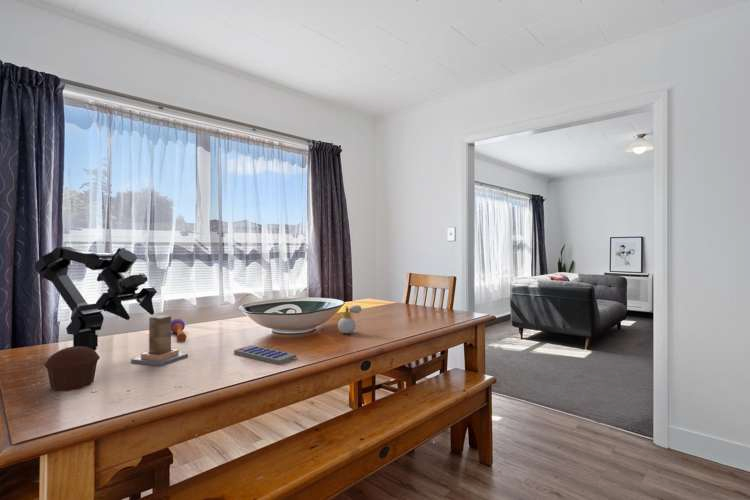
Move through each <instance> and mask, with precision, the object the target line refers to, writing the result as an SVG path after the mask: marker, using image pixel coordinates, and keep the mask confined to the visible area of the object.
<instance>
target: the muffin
mask: <svg viewBox="0 0 750 500" xmlns="http://www.w3.org/2000/svg"><path fill="white" fill-rule="evenodd" d="M100 358H101V356H100V355H99V354H98V352H96V350H93V349H91V348H88V347H84V346H74V347H73V346H69V347H66V348H62V349H60V350H58V351H56V352H55V353H53V354H52V355H50V357H48V358H47V359H46V362H45V363H44V367H45V368H46V369H47V370H46V371H47V374H48V376H47V377H48V382H49V385H50V390H52V391H54V392H70V391H74V390H75V391H77V390H81V389H83V388H85V387H89V386H91V385H92V384H93V382H94V380H95V376H96V375H95V374H96V370H97V365H98V361H99V360H100Z"/></svg>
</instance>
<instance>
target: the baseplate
mask: <svg viewBox="0 0 750 500" xmlns="http://www.w3.org/2000/svg"><path fill="white" fill-rule="evenodd" d="M188 355H189V353H186V352H179V349H175V348H171V352H168V353H165V354H162V355H155V354H149V350H148V351H145V352H143V353H141V354H140V355H139V356H136V357H134V358H131V359H130V362H131V363H135V364H141V365H149V366H156V367H163V366H165V365H168V364H171V363H173V362H176V361H178V360H182V359H185V358H188V357H189V356H188Z"/></svg>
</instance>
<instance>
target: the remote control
mask: <svg viewBox="0 0 750 500" xmlns="http://www.w3.org/2000/svg"><path fill="white" fill-rule="evenodd" d="M233 354H234V355H235V356H241V357H245V358H249V359H253V360H257V361H263V362H267V363H270V362H271V364H276V365H282V364H284V362H285V363H287V362H286V361H288V362H290V361H292V360H291V359H293V360H295V359H294V358H296V359H297V354H296V353H291V352H287V351H282V350H278V349H271V348H268V347H262V346H257V345H246V346H243V347H239V348H236V349H233ZM289 360H290V361H289ZM281 363H282V364H281Z"/></svg>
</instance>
